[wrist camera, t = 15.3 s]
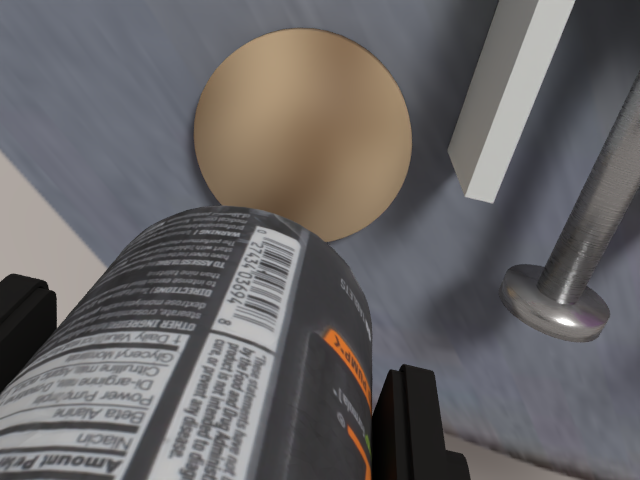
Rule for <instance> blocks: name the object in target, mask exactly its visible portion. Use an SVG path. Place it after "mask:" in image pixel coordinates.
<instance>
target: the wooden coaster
mask: <svg viewBox="0 0 640 480" xmlns="http://www.w3.org/2000/svg"><path fill="white" fill-rule="evenodd" d="M194 143H195V151H196V156H197V160H198V164H199V167H200V169H201V172H202V175H203V177H204V179H205V181H206V183H207V185H208V187H209V188H210V190H211V191H212V193H213V194H214V196H215V197H216V199H217V200H218V201H219V202H220V204H221V205H223V206H237V207H247V208H253V209H258V210H264V211H267V212H270V213H274V214H277V215H279V216H282V217H284V218H287V219H290V220H292V221H294V222H296V223H298V224H300V225H301V226H303V227H304V228H306V229H308V230H309V231H311V232H313V233H315V234H316V235H318V236H319V237H320V238H321V239H322V240H323V241H325V242H329V241H334V240H337V239H341V238H344V237H347V236H349V235H351V234H353V233H356V232H358V231H359V230H361V229H363V228H364V227H366V226H368V225H369V224H370V223H372V222H373V221H374V220H375V219H377V218H378V217H379V216H380V215H381V214H382V213H383V212H384V211H385V210H386V209H387V208H388V207H389V205H390V204H391V203H392V201H393V200H394V199H395V197H396V196H397V194H398V192H399V190H400V188H401V187H402V185H403V182H404V180H405V177H406V175H407V172H408V168H409V163H410V159H411V150H412V131H411V125H410V119H409V114H408V110H407V107H406V104H405V101H404V98H403V95H402V93H401V91H400V89H399V87H398V85H397V83H396V81H395V80H394V78H393V77H392V75H391V74H390V72H389V71H388V70H387V69H386V67H385V66H384V65H383V64H382V63H381V62H380V60H378V59H377V58H376V57H375V56H374V55H373V54H372V53H370V52H369V51H368V50H367V49H365V48H364V47H362V46H361V45H359V44H358V43H356V42H354V41H352V40H350V39H348V38H346V37H344V36H342V35H339V34H336V33H333V32H329V31H325V30H320V29H314V28H291V29H282V30H278V31H274V32H270V33H267V34H265V35H262V36H260V37H258V38H255V39H253V40H252V41H250V42H248V43H247V44H245V45H243V46H242V47H240V48H239V49H238V50H236V51H235V52H234V53H233V54H231V55H230V56H229V57H228V58H226V59H225V60H224V61H223V62H222V64H221V65H220V66H219V67H218V68H217V69H216V70H215V72H214V73H213V74H212V76H211V77H210V79H209V80H208V82H207V84H206V86H205V88H204V90H203V92H202V94H201V97H200V100H199V103H198V106H197V110H196V115H195V121H194Z"/></svg>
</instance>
